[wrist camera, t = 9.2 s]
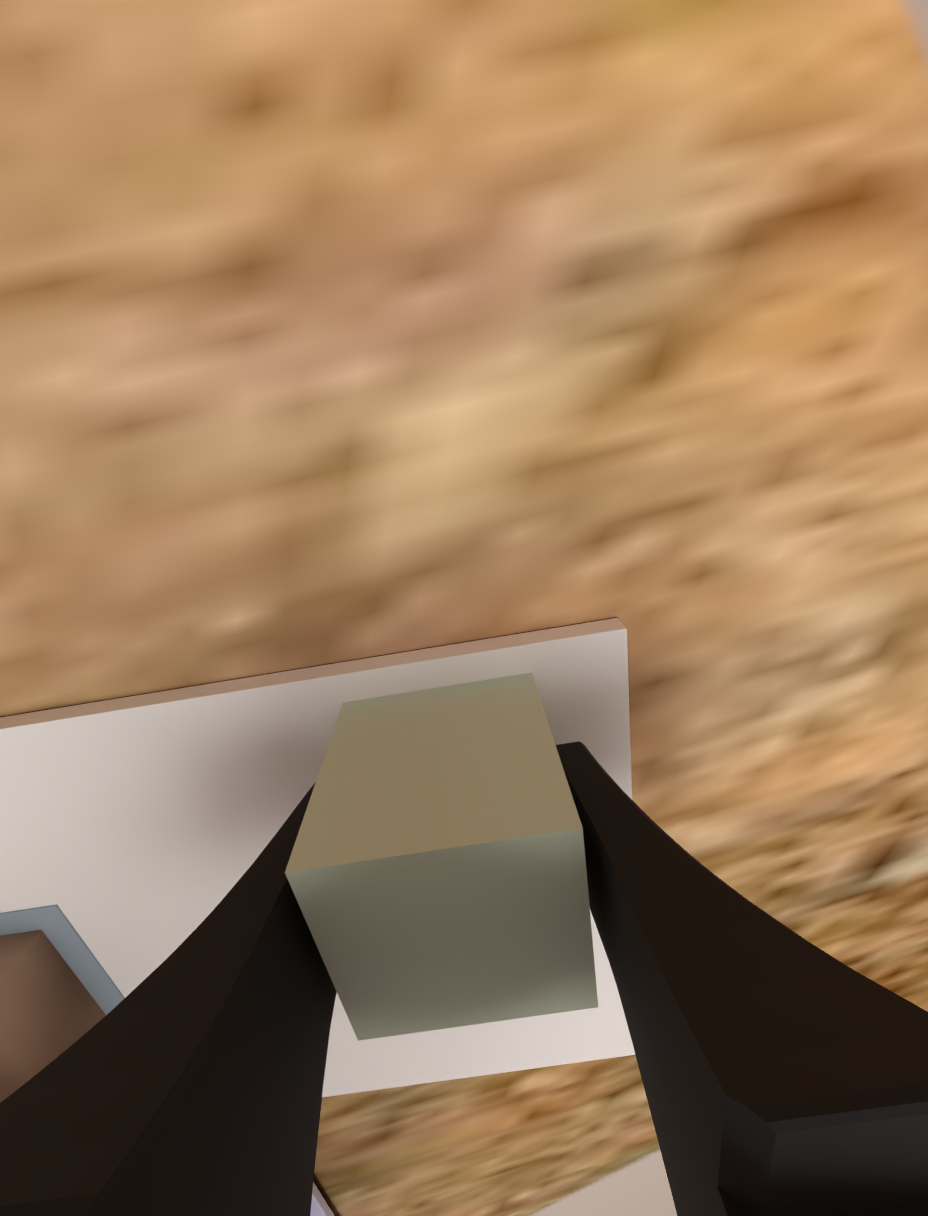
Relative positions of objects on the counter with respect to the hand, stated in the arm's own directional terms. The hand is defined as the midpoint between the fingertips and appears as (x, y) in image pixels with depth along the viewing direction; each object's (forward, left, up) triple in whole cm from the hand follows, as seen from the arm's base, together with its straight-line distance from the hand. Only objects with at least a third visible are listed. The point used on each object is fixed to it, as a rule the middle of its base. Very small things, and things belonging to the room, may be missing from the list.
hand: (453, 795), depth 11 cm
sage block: (0, 0, -1) cm, 1 cm away
